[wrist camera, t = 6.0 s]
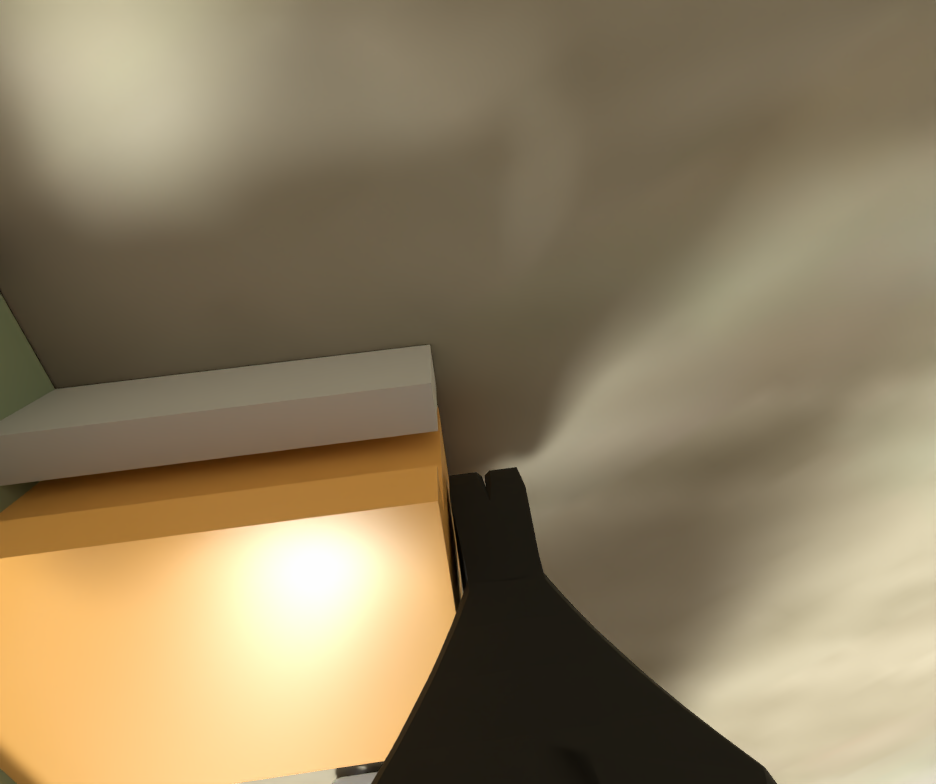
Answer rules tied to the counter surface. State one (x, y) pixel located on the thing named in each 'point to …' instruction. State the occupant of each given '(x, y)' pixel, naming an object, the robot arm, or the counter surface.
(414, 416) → the mower housing
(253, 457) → the orange slab
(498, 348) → the counter surface
